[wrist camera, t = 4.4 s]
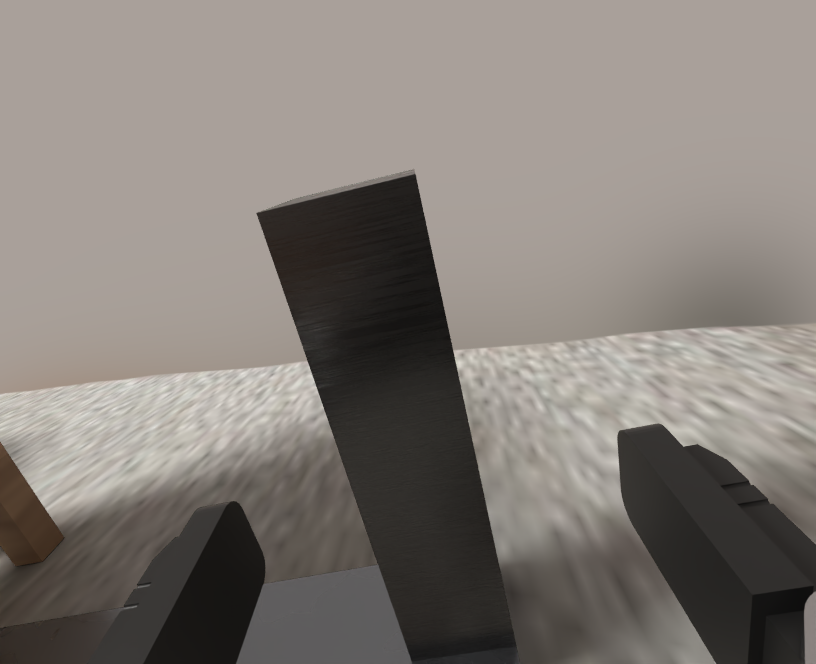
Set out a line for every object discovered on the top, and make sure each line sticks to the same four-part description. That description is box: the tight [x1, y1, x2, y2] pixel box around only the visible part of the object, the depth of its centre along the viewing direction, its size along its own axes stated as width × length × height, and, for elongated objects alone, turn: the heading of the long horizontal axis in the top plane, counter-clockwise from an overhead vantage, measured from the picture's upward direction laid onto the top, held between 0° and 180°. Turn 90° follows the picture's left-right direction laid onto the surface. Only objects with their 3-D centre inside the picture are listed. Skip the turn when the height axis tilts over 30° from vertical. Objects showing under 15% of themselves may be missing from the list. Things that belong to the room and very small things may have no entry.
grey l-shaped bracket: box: [0, 170, 520, 664], centre depth 13 cm, size 21×4×14 cm, turn 90°
